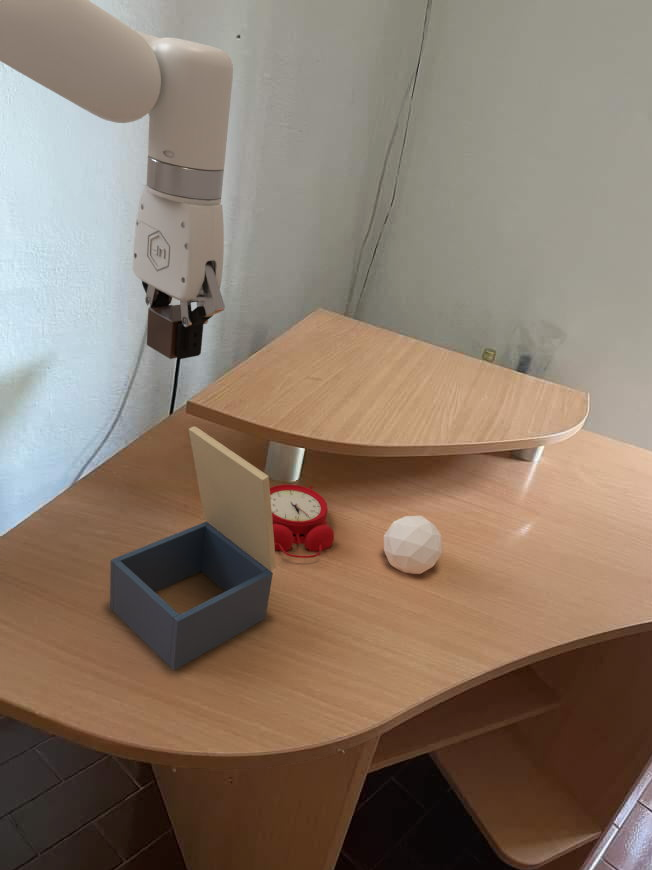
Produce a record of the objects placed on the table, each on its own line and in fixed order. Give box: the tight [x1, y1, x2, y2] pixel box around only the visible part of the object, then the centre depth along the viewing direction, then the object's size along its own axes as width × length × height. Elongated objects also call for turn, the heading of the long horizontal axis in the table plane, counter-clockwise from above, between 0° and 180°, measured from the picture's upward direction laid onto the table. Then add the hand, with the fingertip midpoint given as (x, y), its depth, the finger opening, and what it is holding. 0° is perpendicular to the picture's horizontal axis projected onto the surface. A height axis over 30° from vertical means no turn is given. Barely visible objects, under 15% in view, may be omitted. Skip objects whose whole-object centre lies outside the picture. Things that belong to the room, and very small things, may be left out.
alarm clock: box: [270, 484, 335, 559], centre depth 94 cm, size 10×6×15 cm
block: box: [146, 304, 182, 360], centre depth 80 cm, size 4×4×4 cm
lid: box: [188, 425, 277, 572], centre depth 73 cm, size 13×11×1 cm
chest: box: [109, 520, 274, 671], centre depth 75 cm, size 12×11×8 cm
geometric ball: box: [383, 515, 443, 575], centre depth 92 cm, size 8×8×8 cm
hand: (173, 346), depth 80 cm, fingers closed on block, 4 cm apart
